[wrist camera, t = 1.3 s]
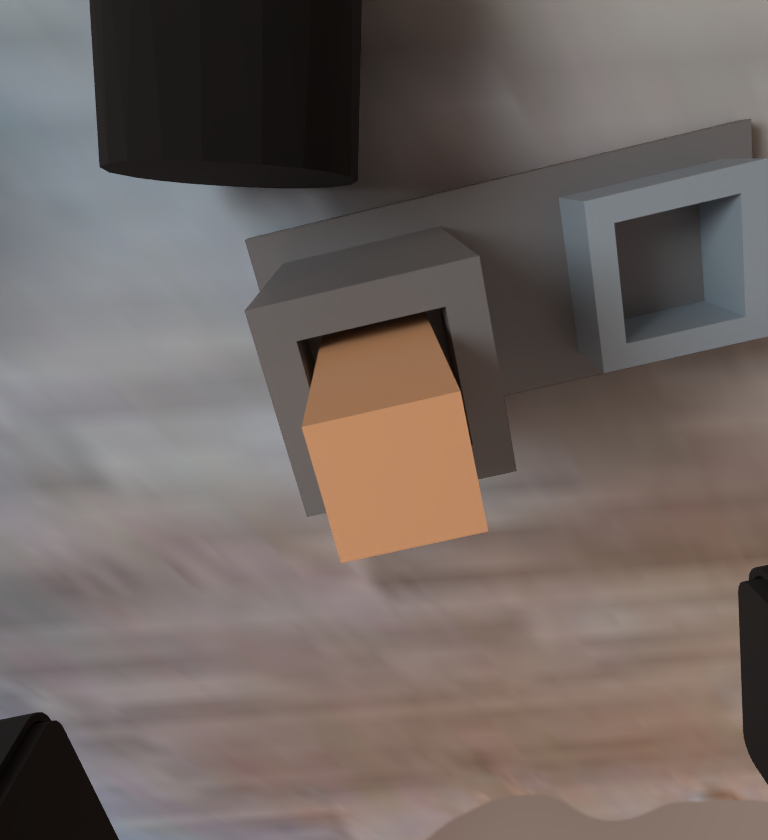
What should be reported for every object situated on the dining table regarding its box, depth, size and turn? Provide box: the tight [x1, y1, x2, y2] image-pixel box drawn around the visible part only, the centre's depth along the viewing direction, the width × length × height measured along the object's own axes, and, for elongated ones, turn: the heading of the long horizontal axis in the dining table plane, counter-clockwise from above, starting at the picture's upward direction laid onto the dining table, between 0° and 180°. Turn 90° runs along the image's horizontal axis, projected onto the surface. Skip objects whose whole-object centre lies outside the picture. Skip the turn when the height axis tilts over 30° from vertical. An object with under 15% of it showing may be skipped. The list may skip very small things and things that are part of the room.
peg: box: [302, 312, 488, 563], centre depth 22 cm, size 4×4×10 cm
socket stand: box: [245, 119, 768, 517], centre depth 30 cm, size 25×11×13 cm, turn 103°
